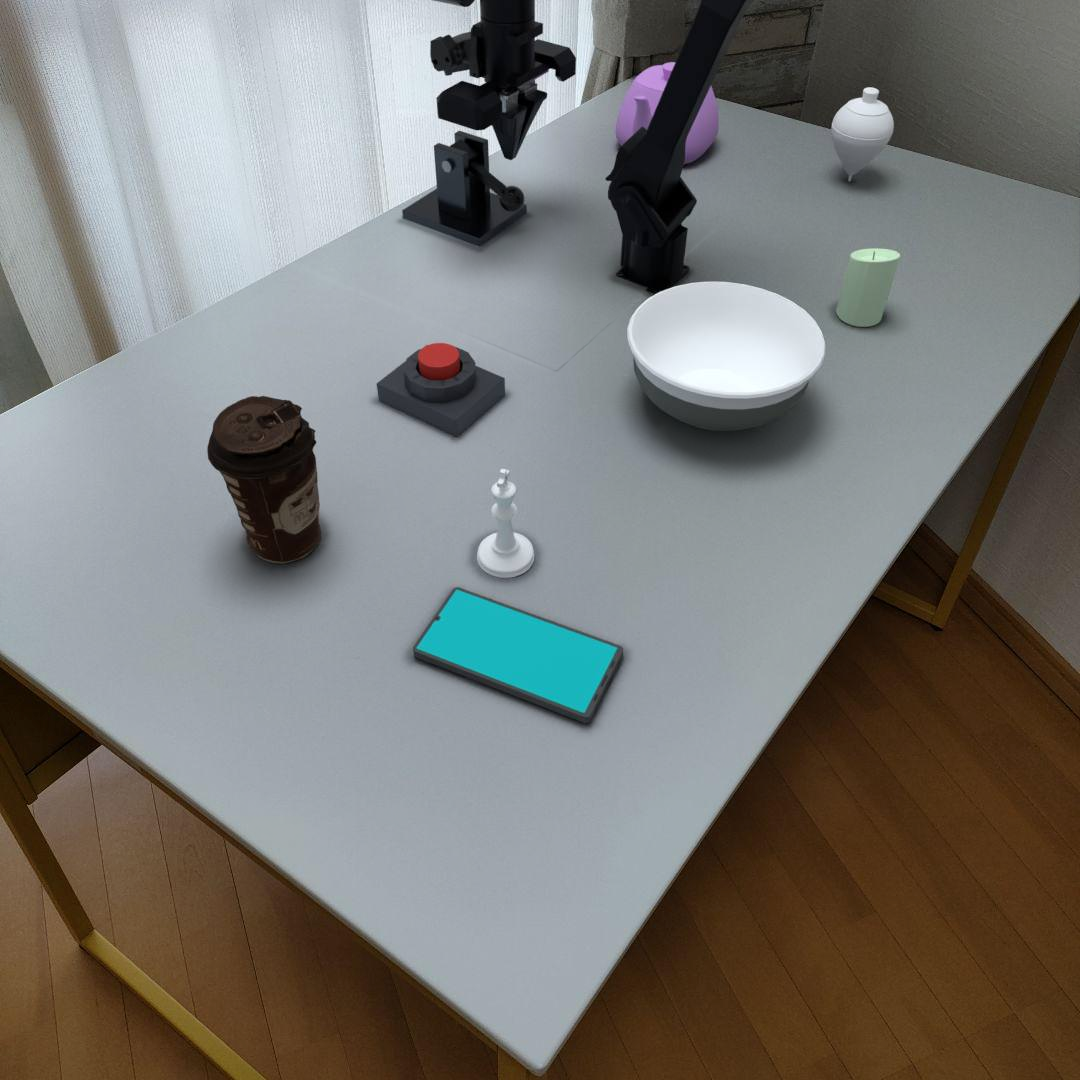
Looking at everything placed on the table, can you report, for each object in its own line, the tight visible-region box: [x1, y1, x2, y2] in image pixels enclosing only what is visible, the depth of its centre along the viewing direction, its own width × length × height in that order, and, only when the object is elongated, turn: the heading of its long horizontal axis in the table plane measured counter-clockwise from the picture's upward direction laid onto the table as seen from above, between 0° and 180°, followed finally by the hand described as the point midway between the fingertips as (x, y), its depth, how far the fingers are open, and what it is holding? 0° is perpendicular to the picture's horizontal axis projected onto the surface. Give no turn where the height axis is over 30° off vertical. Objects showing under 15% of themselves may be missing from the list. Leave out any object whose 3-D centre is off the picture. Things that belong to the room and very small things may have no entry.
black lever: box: [449, 139, 525, 212], centre depth 119 cm, size 11×3×3 cm, turn 56°
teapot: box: [614, 61, 719, 165], centre depth 135 cm, size 13×20×11 cm
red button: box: [418, 342, 460, 380], centre depth 97 cm, size 4×4×2 cm
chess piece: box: [476, 468, 535, 579], centre depth 82 cm, size 5×5×10 cm
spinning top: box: [830, 86, 895, 182], centre depth 128 cm, size 8×8×12 cm
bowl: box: [626, 281, 826, 432], centre depth 97 cm, size 19×19×8 cm
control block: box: [376, 344, 506, 438], centre depth 99 cm, size 10×8×4 cm
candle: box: [835, 247, 901, 328], centre depth 108 cm, size 5×5×8 cm
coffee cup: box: [206, 395, 322, 564], centre depth 82 cm, size 9×8×13 cm
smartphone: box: [412, 587, 624, 724], centre depth 78 cm, size 7×1×15 cm
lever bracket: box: [401, 130, 528, 248], centre depth 122 cm, size 12×10×10 cm
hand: (509, 158), depth 115 cm, fingers closed
